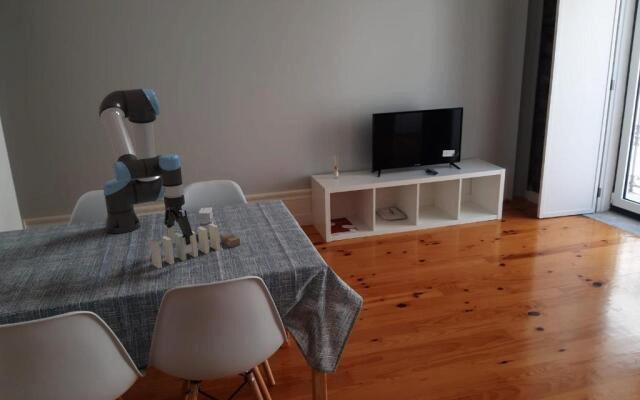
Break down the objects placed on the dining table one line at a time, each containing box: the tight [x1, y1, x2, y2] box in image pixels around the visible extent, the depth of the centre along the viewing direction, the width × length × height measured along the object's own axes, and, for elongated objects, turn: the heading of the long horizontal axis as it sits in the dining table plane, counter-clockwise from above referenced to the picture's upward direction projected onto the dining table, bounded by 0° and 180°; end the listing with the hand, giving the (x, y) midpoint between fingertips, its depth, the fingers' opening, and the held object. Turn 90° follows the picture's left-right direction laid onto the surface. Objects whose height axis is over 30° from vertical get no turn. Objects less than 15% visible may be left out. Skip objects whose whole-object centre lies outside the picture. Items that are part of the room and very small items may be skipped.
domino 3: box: [174, 232, 187, 261], centre depth 197 cm, size 2×5×10 cm, turn 40°
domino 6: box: [209, 224, 221, 251], centre depth 206 cm, size 2×5×10 cm, turn 40°
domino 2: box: [161, 235, 175, 265], centre depth 194 cm, size 2×5×10 cm, turn 40°
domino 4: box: [188, 230, 199, 258], centre depth 200 cm, size 2×5×10 cm, turn 40°
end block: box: [219, 232, 241, 249], centre depth 211 cm, size 9×4×3 cm, turn 40°
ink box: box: [198, 207, 215, 239], centre depth 220 cm, size 9×5×12 cm, turn 5°
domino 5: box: [197, 226, 210, 255], centre depth 203 cm, size 2×5×10 cm, turn 40°
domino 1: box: [149, 238, 163, 269], centre depth 191 cm, size 2×5×10 cm, turn 40°
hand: (180, 247), depth 197 cm, fingers open, 13 cm apart
